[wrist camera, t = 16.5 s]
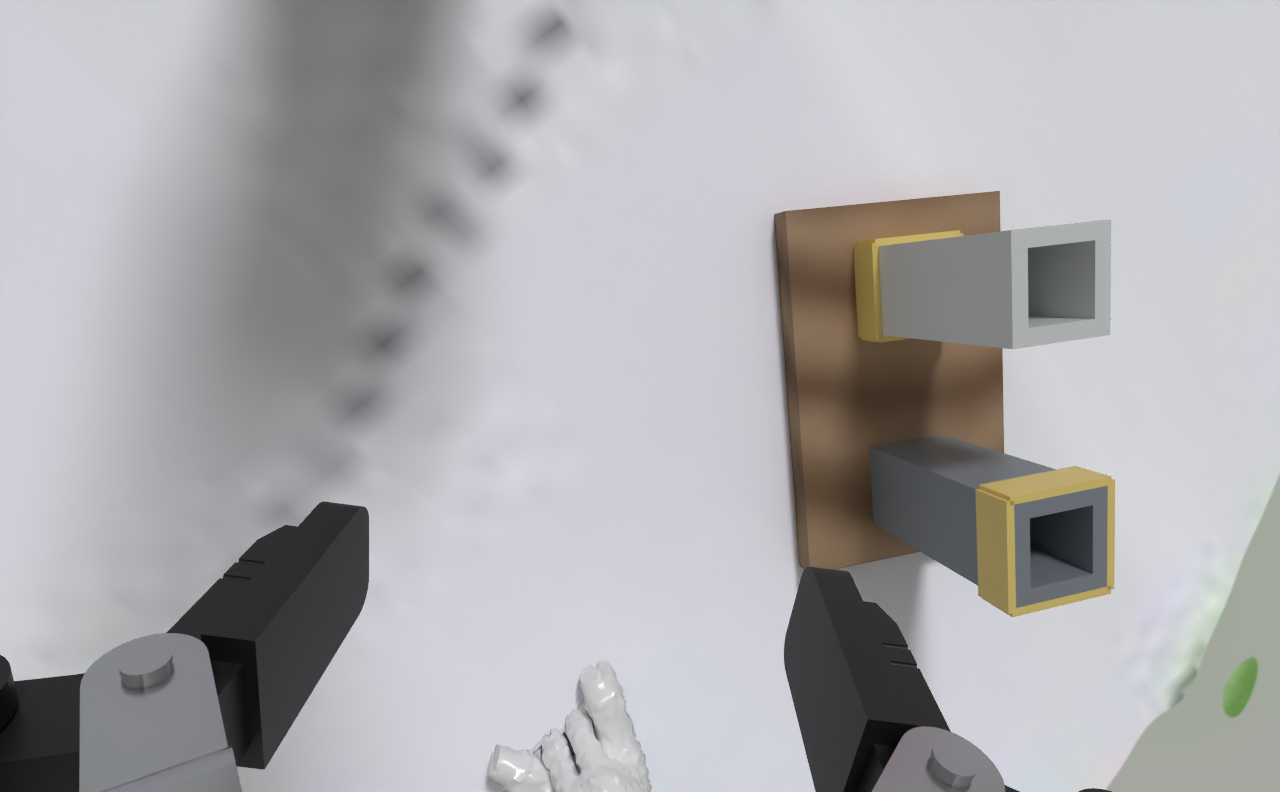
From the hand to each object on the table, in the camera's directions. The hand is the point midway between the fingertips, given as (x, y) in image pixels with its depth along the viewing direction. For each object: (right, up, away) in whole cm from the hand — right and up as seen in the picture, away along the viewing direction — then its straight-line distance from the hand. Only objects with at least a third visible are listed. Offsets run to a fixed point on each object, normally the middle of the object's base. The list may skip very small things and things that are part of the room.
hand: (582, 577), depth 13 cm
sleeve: (+18, -2, +31) cm, 35 cm away
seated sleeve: (+17, +10, +29) cm, 35 cm away
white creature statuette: (-2, -18, +30) cm, 36 cm away
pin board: (+17, +4, +31) cm, 36 cm away
